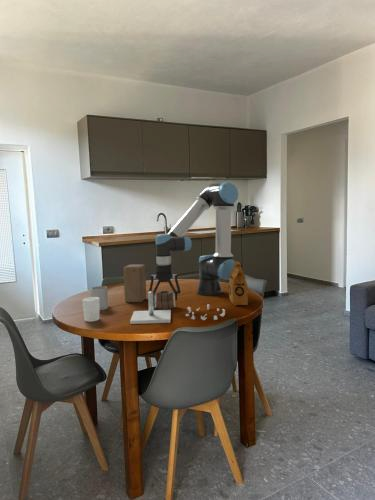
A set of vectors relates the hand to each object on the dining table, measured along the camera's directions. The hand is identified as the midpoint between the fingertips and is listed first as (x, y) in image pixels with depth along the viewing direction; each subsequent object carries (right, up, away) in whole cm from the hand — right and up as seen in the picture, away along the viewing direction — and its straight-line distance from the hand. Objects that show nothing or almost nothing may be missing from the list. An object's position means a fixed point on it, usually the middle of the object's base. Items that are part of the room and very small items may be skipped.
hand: (165, 306), depth 194 cm
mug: (-34, -1, +3) cm, 34 cm away
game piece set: (+21, -2, -15) cm, 26 cm away
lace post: (-5, -1, -19) cm, 20 cm away
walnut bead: (0, 0, 0) cm, 0 cm away
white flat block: (-5, -2, -19) cm, 20 cm away
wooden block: (-18, +1, +16) cm, 24 cm away
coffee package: (+39, +1, +4) cm, 39 cm away
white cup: (-33, -3, -19) cm, 38 cm away
